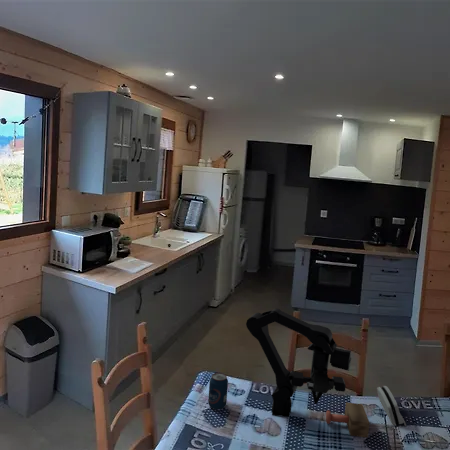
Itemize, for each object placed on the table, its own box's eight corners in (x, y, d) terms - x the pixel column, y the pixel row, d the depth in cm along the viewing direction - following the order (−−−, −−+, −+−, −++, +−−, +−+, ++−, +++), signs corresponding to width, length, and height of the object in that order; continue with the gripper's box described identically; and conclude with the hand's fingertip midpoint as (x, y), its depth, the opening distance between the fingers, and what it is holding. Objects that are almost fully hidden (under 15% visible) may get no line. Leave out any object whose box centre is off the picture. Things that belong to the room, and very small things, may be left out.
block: (350, 435, 155) (352, 420, 154) (344, 416, 167) (345, 402, 166) (367, 437, 155) (369, 422, 154) (360, 418, 166) (362, 404, 166)
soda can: (204, 406, 167) (206, 376, 165) (214, 398, 173) (216, 370, 171) (219, 413, 163) (222, 382, 161) (229, 405, 169) (231, 375, 167)
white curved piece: (406, 426, 163) (400, 402, 162) (393, 429, 163) (387, 405, 162) (392, 402, 179) (386, 379, 178) (380, 404, 180) (374, 382, 179)
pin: (327, 426, 159) (328, 414, 159) (325, 419, 164) (326, 408, 163) (354, 429, 159) (355, 417, 158) (351, 422, 163) (353, 411, 162)
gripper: (295, 370, 151) (290, 412, 154) (350, 376, 150) (345, 419, 152) (293, 356, 162) (289, 395, 165) (345, 362, 161) (340, 401, 163)
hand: (315, 403), depth 161 cm, fingers closed
